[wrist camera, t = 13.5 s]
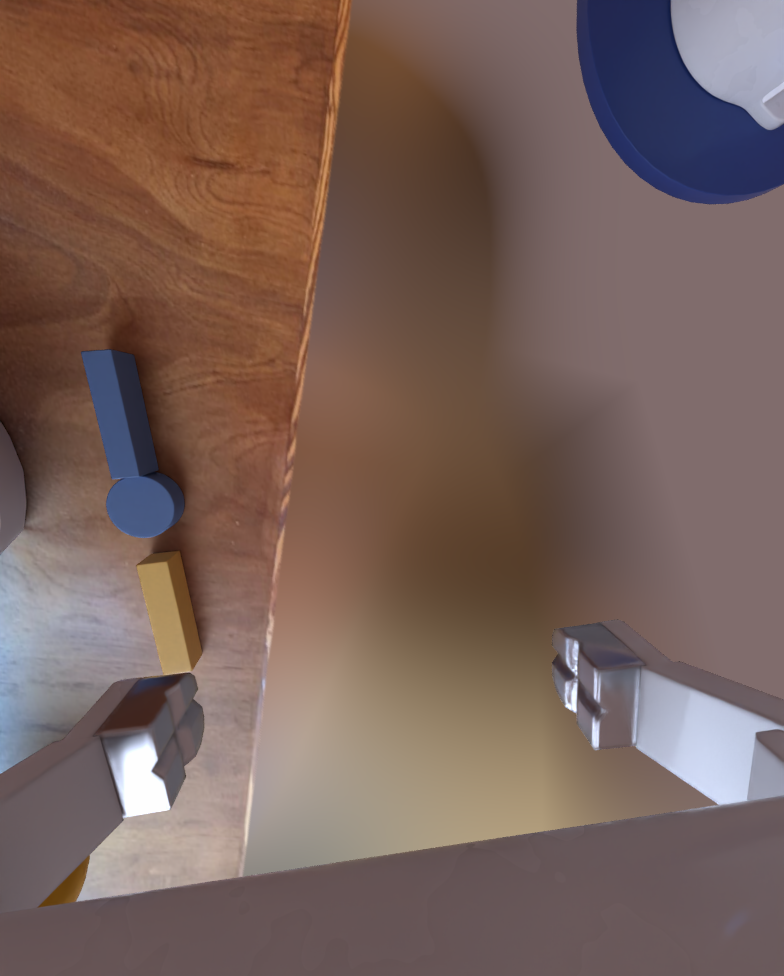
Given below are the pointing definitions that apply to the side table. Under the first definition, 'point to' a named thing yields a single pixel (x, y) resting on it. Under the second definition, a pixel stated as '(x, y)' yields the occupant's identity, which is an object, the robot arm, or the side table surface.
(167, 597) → the fry
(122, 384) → the blue rounded-end bar
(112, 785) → the robot arm
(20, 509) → the bowl
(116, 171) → the side table surface
